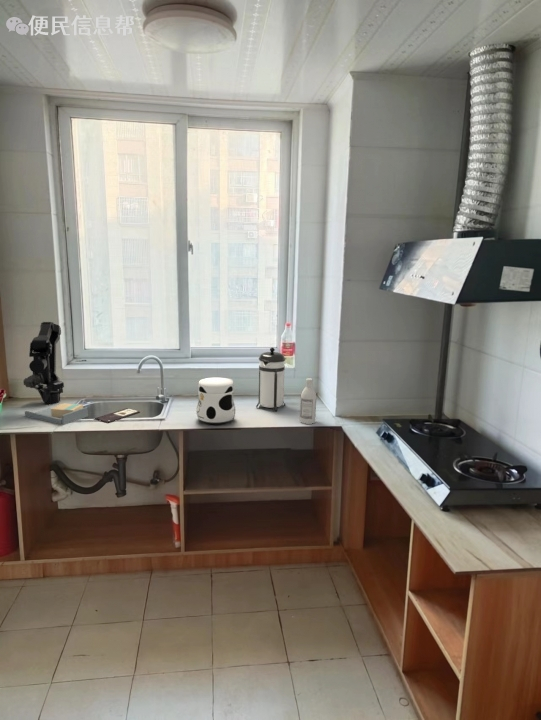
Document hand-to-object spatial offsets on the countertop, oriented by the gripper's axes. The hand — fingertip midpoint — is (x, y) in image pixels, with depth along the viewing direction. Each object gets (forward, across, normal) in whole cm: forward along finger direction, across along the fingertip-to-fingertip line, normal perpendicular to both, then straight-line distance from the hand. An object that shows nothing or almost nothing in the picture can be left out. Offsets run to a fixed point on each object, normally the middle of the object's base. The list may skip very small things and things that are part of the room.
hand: (45, 401), depth 207 cm
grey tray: (+7, +8, -1) cm, 10 cm away
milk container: (+7, +70, +31) cm, 77 cm away
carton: (+5, +12, +1) cm, 14 cm away
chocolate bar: (+7, +28, +15) cm, 32 cm away
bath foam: (+7, +107, +48) cm, 118 cm away
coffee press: (+7, +83, +62) cm, 104 cm away
